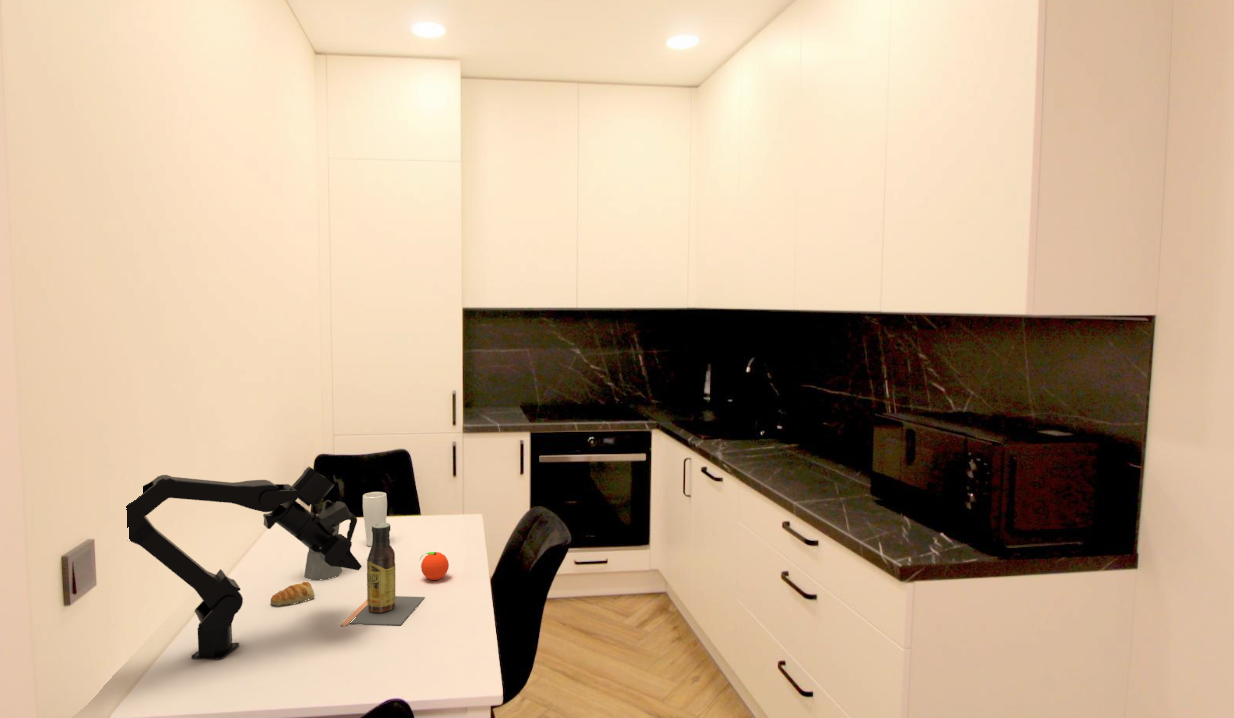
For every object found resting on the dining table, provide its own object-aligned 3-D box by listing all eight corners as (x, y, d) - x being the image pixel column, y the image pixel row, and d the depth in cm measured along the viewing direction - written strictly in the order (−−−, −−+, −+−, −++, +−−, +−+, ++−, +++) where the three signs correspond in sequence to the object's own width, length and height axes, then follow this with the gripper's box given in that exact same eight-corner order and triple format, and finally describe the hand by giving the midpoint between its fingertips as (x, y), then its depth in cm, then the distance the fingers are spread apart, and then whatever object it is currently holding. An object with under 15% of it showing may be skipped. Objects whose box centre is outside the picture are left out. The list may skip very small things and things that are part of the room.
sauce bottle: (363, 608, 176) (360, 523, 175) (388, 601, 180) (386, 518, 179) (374, 617, 171) (372, 530, 170) (401, 609, 175) (398, 524, 174)
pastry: (277, 611, 176) (277, 594, 176) (265, 603, 181) (264, 587, 181) (317, 599, 183) (316, 583, 183) (304, 592, 188) (303, 577, 188)
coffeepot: (297, 584, 193) (294, 514, 191) (295, 573, 201) (292, 505, 200) (361, 574, 199) (359, 507, 198) (356, 564, 208) (354, 499, 207)
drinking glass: (362, 543, 227) (361, 493, 226) (386, 540, 229) (384, 490, 228) (365, 549, 220) (363, 498, 219) (389, 546, 223) (388, 495, 222)
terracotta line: (346, 626, 167) (346, 624, 167) (340, 626, 167) (340, 624, 167) (390, 583, 193) (390, 582, 193) (385, 583, 193) (384, 582, 193)
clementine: (412, 582, 194) (411, 554, 193) (426, 572, 201) (426, 546, 200) (440, 585, 192) (439, 557, 191) (454, 575, 198) (453, 549, 198)
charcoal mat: (400, 625, 167) (400, 624, 167) (349, 624, 168) (349, 623, 168) (424, 598, 183) (424, 596, 183) (377, 597, 184) (377, 595, 184)
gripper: (340, 500, 159) (393, 543, 166) (314, 484, 174) (363, 524, 181) (302, 545, 155) (357, 586, 162) (278, 524, 169) (330, 563, 177)
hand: (353, 562), depth 171 cm, fingers open, 9 cm apart
